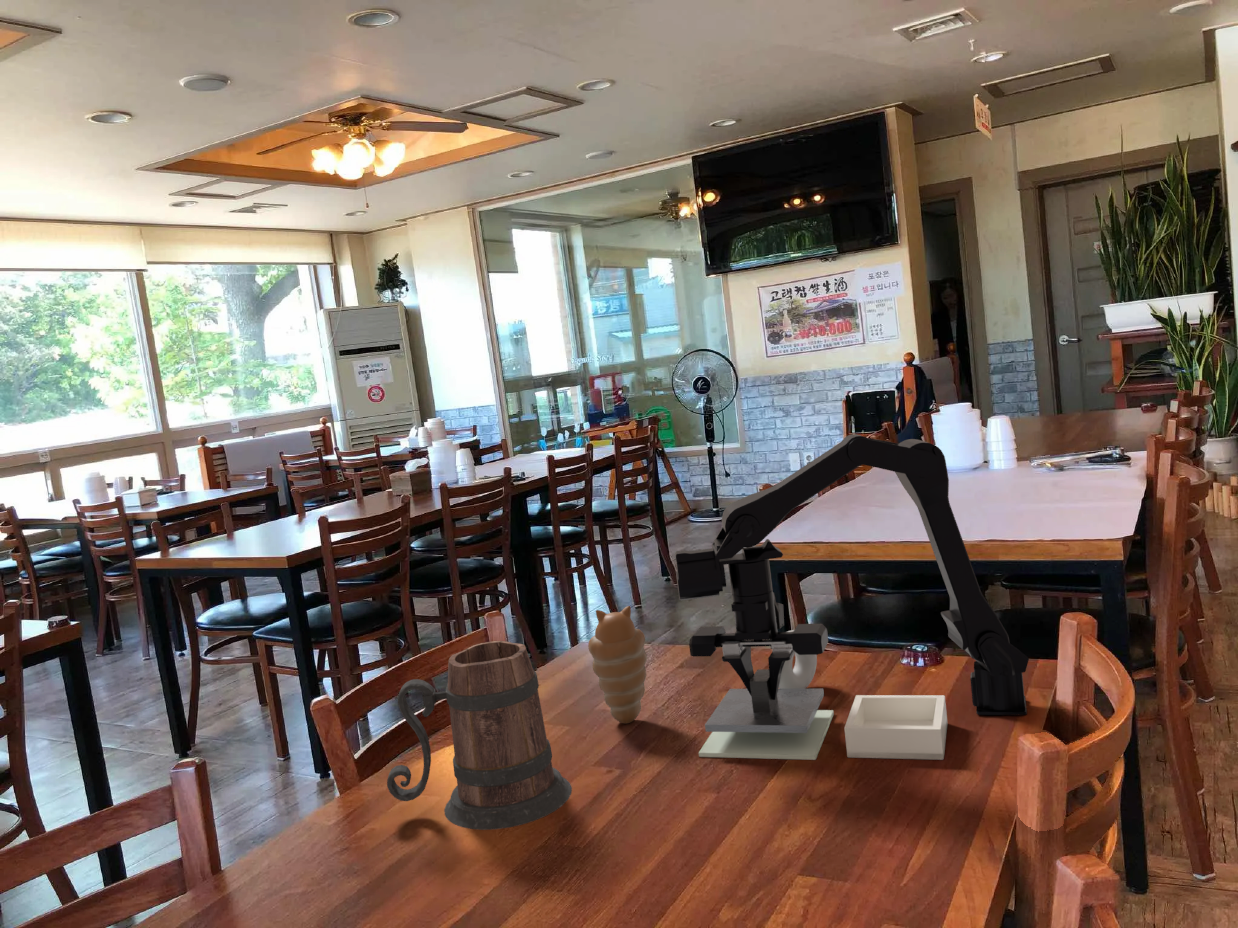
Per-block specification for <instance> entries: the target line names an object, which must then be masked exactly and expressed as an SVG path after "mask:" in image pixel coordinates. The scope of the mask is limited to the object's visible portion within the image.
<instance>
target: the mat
mask: <svg viewBox="0 0 1238 928" xmlns="http://www.w3.org/2000/svg"><path fill="white" fill-rule="evenodd" d="M834 714H835V713H834V710H833V709H831V710H830V709H818V710H817V712H816V714H815V717H814V719H813V721H812V723H811V726H810V728H809V730H808V732H807V733H772V732H710V734H709V736H708V738H707V739H706V740H705V743H704V744H703V745H702V747H701V749H700V750H699V751H698V757H699V758H726V759H727V758H729V759H731V758H732V759H736V758H738V759H767V760H771V759H772V760H775V759H776V760H803V761H804V760H808V761H809V760H811V761H816V760H817V758H818V756H819V755H818V754H819V752H820V750H821V747H822V745H823V742H824V740H825V738H826V735H827V732H828V730H829V727H830V724H831V722H832V720H833V717H834Z"/></svg>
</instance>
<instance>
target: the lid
mask: <svg viewBox="0 0 1238 928" xmlns="http://www.w3.org/2000/svg"><path fill="white" fill-rule="evenodd" d="M750 688H751V695H750V693H749V692H748V690H747V688H729V689H728V690H727V692H726V694H725V695H724V696H723V698H722V699H721V701H720V702H719V703H718V705H717V707H715V710H713V712H712V713H711V715H710V717H709V718H708V719H707V721H706V722H705V723H704V728H705V729H704V730H705V732H708V733H709V732H710V733H712V732H772V733H807V732H808V730H809V728H810V726H811V723H812V721H813V719H814V717H815V714H816V712H817V710H819V708H820V705H821V703H822V701H823V698H824V696H825V693H824V688H806V689H780V688H778V693H777V697H776V699H775V700H772V695H771V691H770V677H769V668H765V669H759V668H758V669H756V671H755V672H754V676H753V677H752V679H751V680H750Z"/></svg>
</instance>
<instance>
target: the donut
mask: <svg viewBox="0 0 1238 928" xmlns="http://www.w3.org/2000/svg"><path fill="white" fill-rule="evenodd" d="M794 630H795V629H792V630H788V631H786V632H794ZM794 657H795V661H793V660H794ZM817 657H818V655H799V654H797V653H796V652H794V654H793V656H792V657H791V659H790V660H788V661H785V663H784V666H783V669H782V674H781V678H780V683H779V688H778V689H808V687H809V686H810V685H811V683H812V681H813V679H814V676H815V673H816V669H817V665H818V659H817ZM793 662H795V663H794V666H793Z"/></svg>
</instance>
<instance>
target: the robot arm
mask: <svg viewBox="0 0 1238 928" xmlns="http://www.w3.org/2000/svg"><path fill="white" fill-rule="evenodd" d="M860 466H869V467H872V468H877V469H882V470H885V471H890V472H894V473H895V475H896V477H897V478H898V480H899V481H900V483H901V485H902V486H903V488H904V489H905V491H906V493H907V494H908V495H909V497H910V498H911V500H912V501H913V502H914V505H915V506H916V508H917V510H918V513H919V516H920V518H921V521H922V524H923V527H924V529H925V532H926V534H927V535H926V536H927V537H928V540H929V543H930V546H931V548H932V551H933V554H934V558H935V561H936V562H937V565H938V568H939V571H940V574H941V576H942V580H943V582H944V585H945V587H946V590H947V593H948V595H949V610H944V611H941V612H940V615H941V617H942V618H943V620H944V622H945V623H946V627H947V630H948V633H947V635H948V636H947V637H948V638H949V639H951V641H953V642H954V643H955V644H956V645H957V646H958V647H959V648H961V650H963V651H965V652H966V653H967V654H968V655H969V656H970V658H971V659H973V660H975V661H973V671H972V672H970V679H969V680H970V689H971V690H970V691H971V701H972V706H974V707H976V708H975V709H976V714H977V716H978V715H981V716H1026V715H1027V713H1028V712H1027V698H1026V696H1025V688H1024V677H1023V673H1025V672H1026V671H1027V669H1028V664H1029V657H1028V655H1026V654H1025V653H1024V652H1023V651H1021V650H1020V649H1018V648H1017V647H1015V646H1014V645H1013V644H1011V643H1010V642H1011V641H1010V637H1009V634H1008V632H1007V630H1006V629H1005V626H1003V625H1004V624H1003V623H1002V622H1001V620H1000V618H999V616H998V615H997V613H996V612H995V611H994V609H993V607H992V606H991V604H990V603H989V602H988V600H987V599H986V598H985V596H984V595H983V592H982V590H981V587H980V585H979V582H978V579H977V576H976V573H975V571H974V568H973V565H972V562H971V559H970V557H969V554H968V550H967V548H966V545H965V542H964V540H963V537H962V535H961V532H960V529H959V526H958V523H957V520H956V517H955V515H954V513H953V510H952V506H951V503H950V497H949V496H950V495H949V491H950V490H949V489H950V482H949V481H950V479H949V475H948V474H949V473H948V467H947V461H946V456H945V455H944V453H943V451H942V450H941V449H940V448H939V446H936V445H935V444H933V443H931V442H929V441H928V442H927V441H924V440H920V439H917V438H916V439H915V438H910V439H905V440H903V441H900V442H899V443H898V442H897V443H896V442H892V441H886V440H881V439H878V438H877V439H876V438H869V437H867V436H864V435H860V434H857V433H853V434H849V435H846V436H845V437H844V438H843V439H842V440H840V442H839V443H837V444H835V445H834V446H833V447H832V448H830V449H828V450H827V451H824V453H822V454H821V455H819V456H818V457H816V458H814V459H813V460H811V461H810V462H809V463H807V464H805V465H803V466H802V467H801V468H799V469H798V470H796V471H794V472H793V473H792V474H790V475H789V476H787V477H786V478H784V479H783V480H781V481H780V482H778V483H777V484H775V485H773V486H771V487H768V488H766V489H763V490H760V491H757V492H754V493H752V494H749V495H747V496H745V497H742V498H739V499H737V500H735V501H733V502H732V503H730V504H729V505H727V506H726V507H725V509H724V510H723V513H722V517H721V528H720V531H719V532H718V533H717V535H716V537H715V538H714V539H713V543H712V544H711V547H710V548H705V549H698V550H679V551H678V550H677V551H676V552H674V553H675V554H674V555H675V565H676V571H675V574H676V581H677V582H676V583H677V589H678V597H679V601H681V602H682V601H687V600H695V599H703V598H711V597H719V596H720V592H723V591H724V588H725V589H726V588H727V581H726V580H727V579H726V572H725V565H728V574H729V582H730V583H729V584H730V591H731V600H732V603H731V604H730V605H731V612H733V617H734V624H735V632H734V633H731V632H730V633H726V629H725V627H724V626H723V625H721V626H715V625H714V626H712V625H711V626H700V627H699V628H698V630H696V631H695V633H694V634H693V635H692V636H691V637H690V638H689V643H688V645H689V654H690V657H693V658H694V657H711V656H713V654H714V653H715V652H716V650H717V648H722V653H723V654H722V655H723V656H722V657H721V661H722V662H724V663H728V664H729V665H730V666H731V668H732V669H733V670H734V671H735V672H736V674H737V675H738V677H739V678H740V680H741V681H742V683H743V685H744V687H745V689H747V690H748V692H749V693H750V695H751V688H750V680H751V679H752V677H753V676H754V674H755V671H754V668H753V663H752V648H753V647H770V648H771V650H772V651H771V653H770V655H769V656H768V658H767V659H768V660H767V661H768V669H769V677H770V691H771V695H772V700H775V699H776V697H777V693H778V689H780V688H779V683H780V678H781V674H782V669H783V666H784V663H785V661H788V660H790V659H791V657H792V656H793V654H794V652H796V653H797V654H799V655H817V656H818V655H822V654H823V653H824V652H825V650H826V648H827V646H828V643H829V634H828V628H827V627H826V626H825V625H824V624H823V623H798V624H796V625H797V626H796V627H795V628H794V629H793V630H794V632H787V631H778V630H780V629H781V628H782V627H784V626H785V619H784V618H785V616H784V604H782V603H780V602H777V601H776V596H775V592H773V582H772V573H771V566H770V565H771V564H770V560H773V559H781V558H783V556H784V553H783V551H781V549H780V548H779V547H777V546H775V545H774V544H773V543H772V541H771V540H770V539H769V538H766V537H768V536H769V535H770V534H771V533H772V532H773V531H774V530H775V529H776V528H777V527H778V526H779V525H780V524H781V522H782V521H783V520H784V519H785V517H787V515H788V514H790V512H792V511H793V510H795V509H796V508H797V507H799V506H801V505H802V504H804V503H805V502H807V501H808V500H810V499H811V498H812V497H814V496H816V495H818V494H819V493H820V492H822V491H823V490H825V489H827V488H828V487H830V486H831V485H833V484H834V483H836V482H837V481H839V480H840V479H842V478H843V477H845V476H846V475H848V474H849V473H852V471H854V470H856V469H857V468H858V467H860ZM764 539H765V540H764ZM763 540H764V542H763V544H761V545H759V544H760V543H761V542H762V541H763ZM757 545H758V546H757ZM740 551H741V553H740Z"/></svg>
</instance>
